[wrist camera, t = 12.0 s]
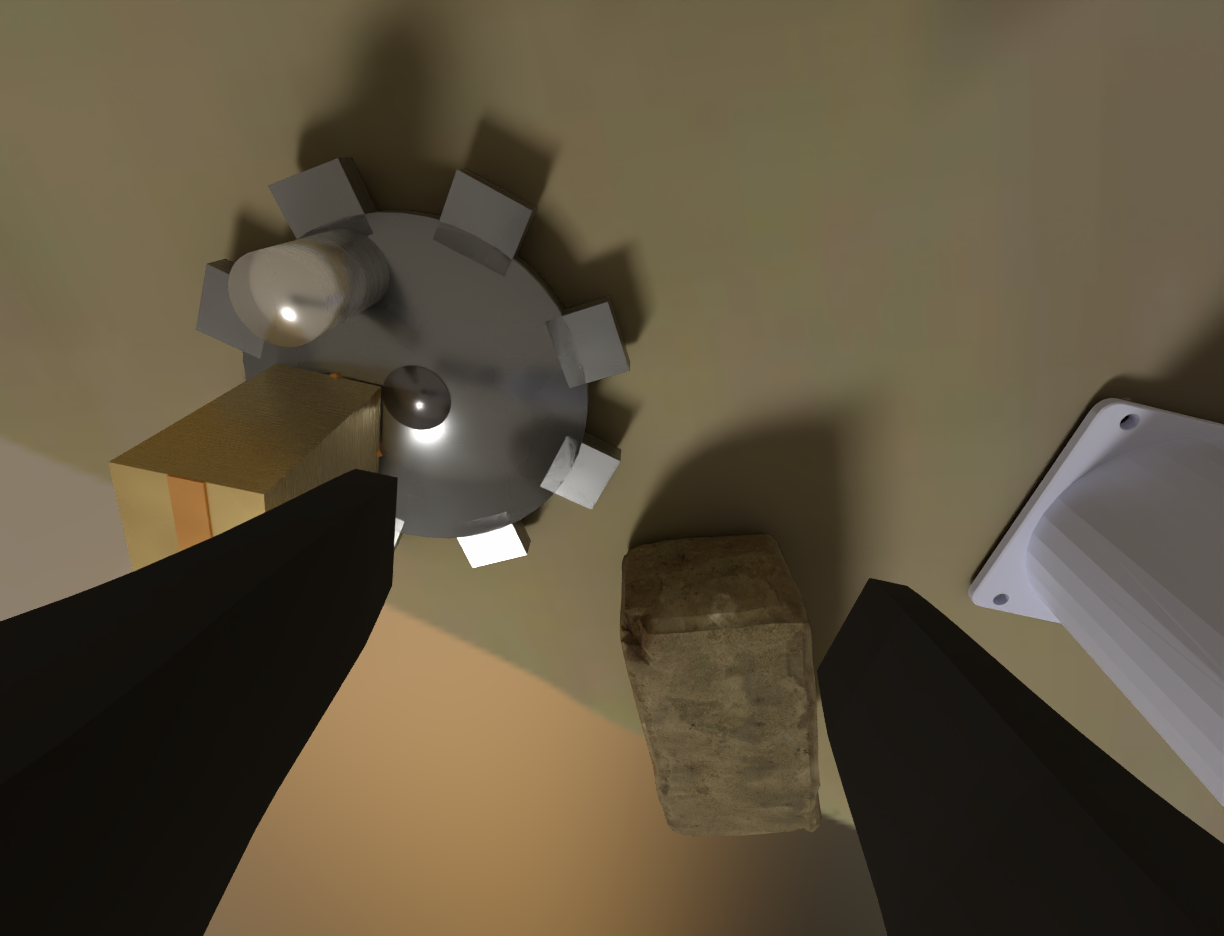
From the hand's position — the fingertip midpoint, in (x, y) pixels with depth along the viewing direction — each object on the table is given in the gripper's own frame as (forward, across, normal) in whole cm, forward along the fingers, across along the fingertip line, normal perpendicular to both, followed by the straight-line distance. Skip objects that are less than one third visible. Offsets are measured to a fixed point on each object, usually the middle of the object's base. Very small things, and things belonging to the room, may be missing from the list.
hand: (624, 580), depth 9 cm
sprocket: (+10, +6, +2) cm, 12 cm away
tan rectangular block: (+9, +8, +4) cm, 13 cm away
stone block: (+10, -6, +10) cm, 16 cm away
